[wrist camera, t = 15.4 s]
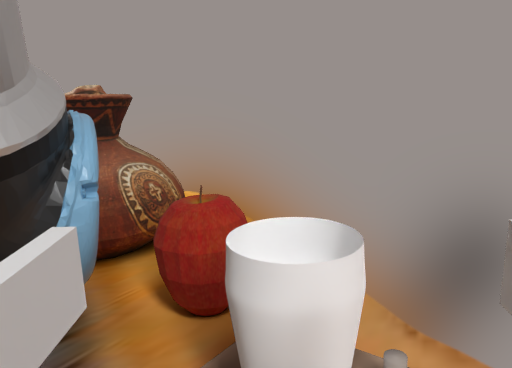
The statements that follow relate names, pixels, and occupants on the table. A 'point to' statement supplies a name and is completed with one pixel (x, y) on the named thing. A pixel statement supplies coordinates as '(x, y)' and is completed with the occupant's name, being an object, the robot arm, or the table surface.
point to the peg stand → (363, 364)
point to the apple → (196, 250)
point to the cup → (295, 292)
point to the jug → (123, 176)
